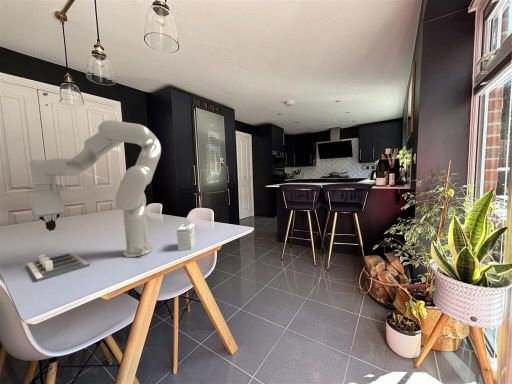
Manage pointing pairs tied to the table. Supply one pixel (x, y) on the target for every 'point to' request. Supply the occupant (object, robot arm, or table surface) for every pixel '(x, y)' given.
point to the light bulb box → (186, 236)
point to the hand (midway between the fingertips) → (51, 230)
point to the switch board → (57, 266)
